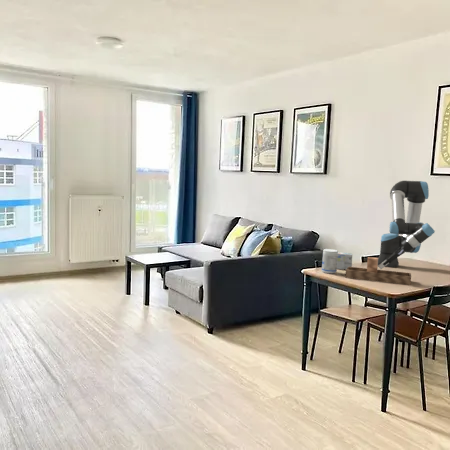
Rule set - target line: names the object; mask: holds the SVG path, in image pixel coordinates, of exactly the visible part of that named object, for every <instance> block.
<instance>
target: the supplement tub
mask: <svg viewBox="0 0 450 450" xmlns="http://www.w3.org/2000/svg"><path fill="white" fill-rule="evenodd" d="M338 253H339V251H338V250H337V249H331V248H325V249H323V250H322V259H321V260H322V261H321V262H322V263H321V272H322V273H325V274H332V275H333V274H336V273H337V270H338V269H337V259H338Z"/></svg>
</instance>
